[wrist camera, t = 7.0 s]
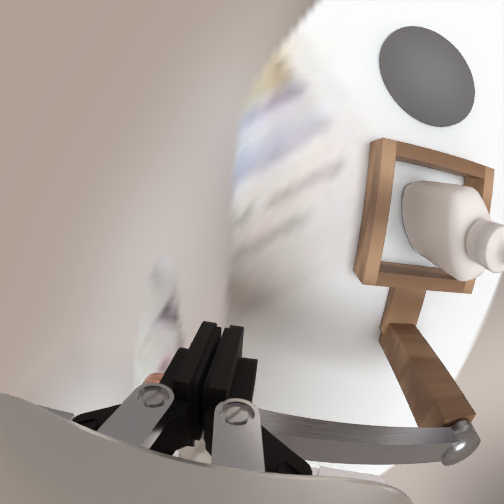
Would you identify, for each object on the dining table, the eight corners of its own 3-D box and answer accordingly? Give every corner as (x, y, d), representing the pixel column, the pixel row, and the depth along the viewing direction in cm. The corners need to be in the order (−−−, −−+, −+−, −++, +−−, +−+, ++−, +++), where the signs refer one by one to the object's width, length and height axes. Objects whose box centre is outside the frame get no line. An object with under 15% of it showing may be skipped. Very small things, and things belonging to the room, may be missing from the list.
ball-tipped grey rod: (477, 417, 11) (489, 437, 9) (454, 445, 12) (463, 465, 10) (145, 363, 12) (128, 388, 10) (144, 400, 12) (129, 424, 11)
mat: (471, 138, 19) (475, 138, 18) (378, 112, 19) (381, 110, 19) (467, 48, 16) (470, 46, 16) (377, 17, 17) (379, 14, 16)
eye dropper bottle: (449, 191, 20) (553, 214, 9) (431, 256, 22) (520, 319, 10) (406, 174, 20) (505, 182, 9) (387, 243, 22) (468, 307, 10)
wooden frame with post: (435, 342, 24) (497, 431, 11) (338, 338, 24) (367, 454, 12) (474, 168, 19) (584, 178, 7) (370, 142, 20) (460, 114, 8)
